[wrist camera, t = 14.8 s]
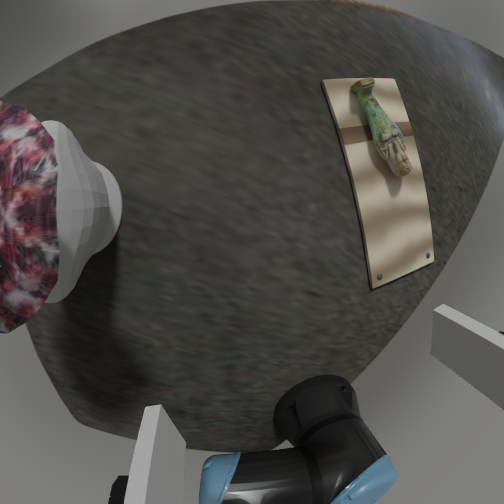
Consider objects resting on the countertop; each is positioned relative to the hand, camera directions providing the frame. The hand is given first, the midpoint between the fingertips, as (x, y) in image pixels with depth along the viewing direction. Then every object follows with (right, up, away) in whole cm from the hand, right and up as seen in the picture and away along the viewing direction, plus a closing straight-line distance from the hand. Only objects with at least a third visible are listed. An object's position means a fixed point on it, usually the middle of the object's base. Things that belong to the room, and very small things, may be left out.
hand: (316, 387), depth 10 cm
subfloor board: (+18, +17, +27) cm, 37 cm away
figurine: (+16, +24, +24) cm, 38 cm away
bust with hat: (-24, +12, +22) cm, 34 cm away
